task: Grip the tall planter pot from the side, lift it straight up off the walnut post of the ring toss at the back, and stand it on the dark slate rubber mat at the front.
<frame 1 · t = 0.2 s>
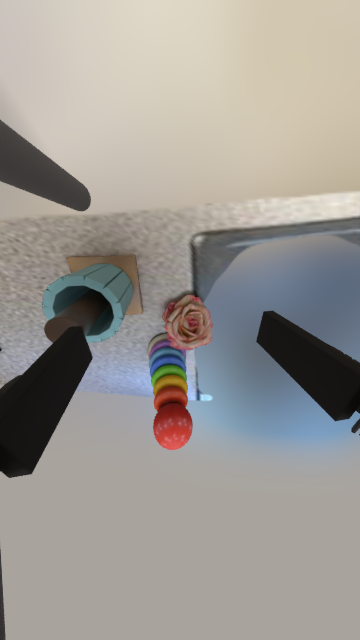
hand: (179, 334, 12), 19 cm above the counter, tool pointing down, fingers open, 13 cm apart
stacking toy: (166, 346, 35), on the counter
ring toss: (110, 286, 27), on the counter
flower: (184, 312, 32), on the counter
planter pot: (108, 288, 26), point 1 cm above the counter, touching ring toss
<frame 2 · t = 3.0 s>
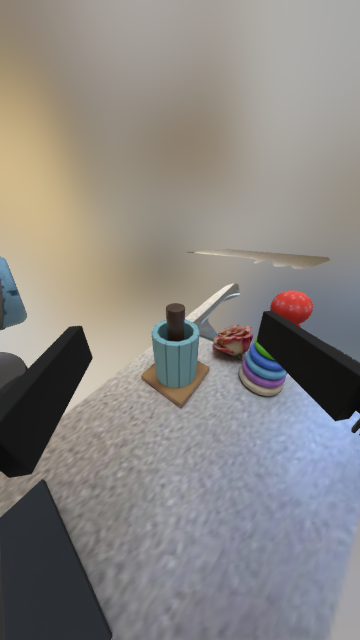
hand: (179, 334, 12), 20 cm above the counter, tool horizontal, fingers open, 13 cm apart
stacking toy: (258, 380, 32), on the counter
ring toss: (176, 374, 33), on the counter
flower: (228, 352, 39), on the counter
planter pot: (176, 370, 32), point 1 cm above the counter, touching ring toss
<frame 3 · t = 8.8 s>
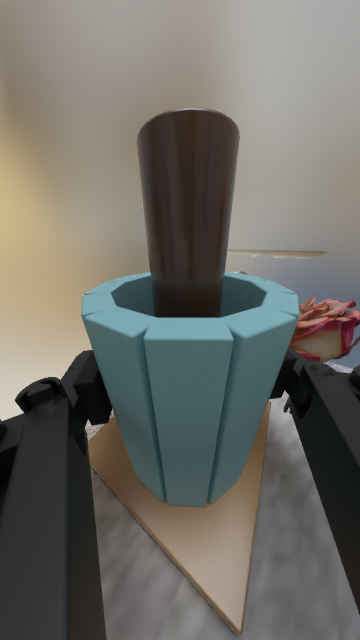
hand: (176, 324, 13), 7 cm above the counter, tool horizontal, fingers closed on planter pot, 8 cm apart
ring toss: (186, 432, 12), on the counter
flower: (284, 360, 19), on the counter
planter pot: (186, 422, 11), point 1 cm above the counter, touching gripper, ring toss
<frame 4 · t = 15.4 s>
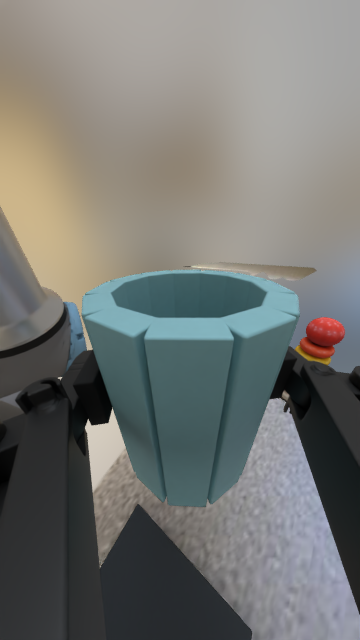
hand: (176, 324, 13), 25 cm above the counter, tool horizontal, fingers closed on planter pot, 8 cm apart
stacking toy: (292, 392, 36), on the counter
planter pot: (186, 422, 11), point 20 cm above the counter, touching gripper
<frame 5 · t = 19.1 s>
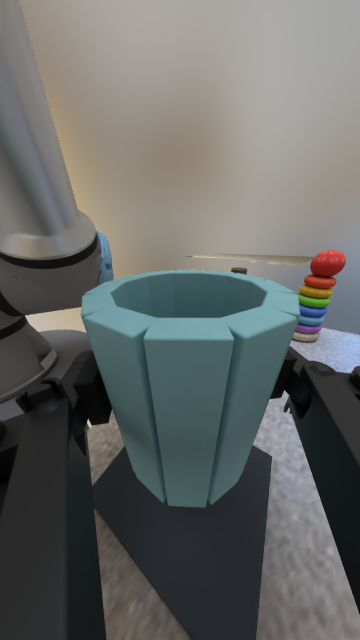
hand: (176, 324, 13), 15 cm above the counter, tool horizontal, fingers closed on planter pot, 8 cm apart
stacking toy: (296, 334, 39), on the counter
mat: (185, 477, 16), on the counter
planter pot: (186, 423, 11), point 9 cm above the counter, touching gripper
when the fingers open (6 cm above the counter, at t = 21.9 s): planter pot stays where it is, resting on mat.
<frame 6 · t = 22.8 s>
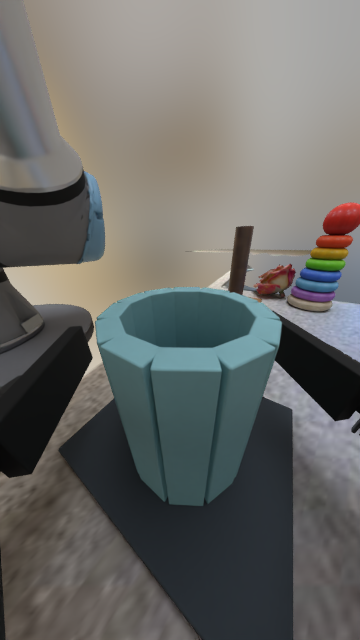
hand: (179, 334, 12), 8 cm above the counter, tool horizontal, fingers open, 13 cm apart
stacking toy: (306, 306, 36), on the counter
mat: (185, 433, 13), on the counter
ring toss: (233, 307, 36), on the counter
flower: (268, 295, 42), on the counter
planter pot: (186, 428, 12), point 1 cm above the counter, touching mat
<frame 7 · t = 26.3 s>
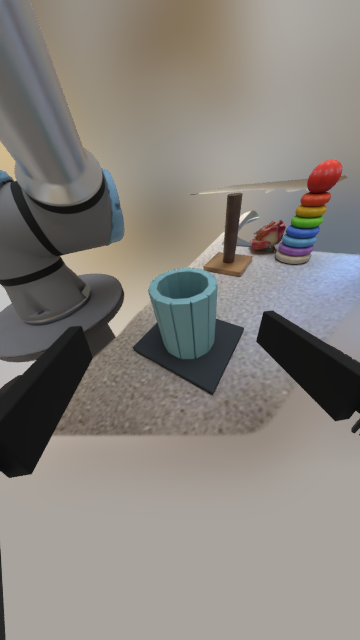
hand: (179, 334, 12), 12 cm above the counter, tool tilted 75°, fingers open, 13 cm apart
stacking toy: (290, 259, 43), on the counter
mat: (188, 340, 26), on the counter
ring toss: (228, 265, 44), on the counter
flower: (262, 250, 49), on the counter
planter pot: (188, 337, 26), point 1 cm above the counter, touching mat
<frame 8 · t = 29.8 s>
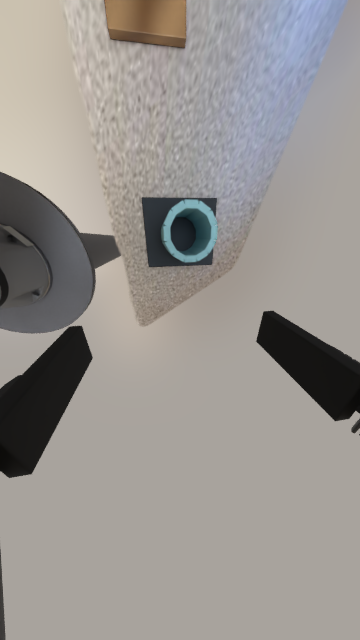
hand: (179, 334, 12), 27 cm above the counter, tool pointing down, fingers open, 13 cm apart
mat: (180, 234, 33), on the counter
planter pot: (181, 234, 32), point 1 cm above the counter, touching mat
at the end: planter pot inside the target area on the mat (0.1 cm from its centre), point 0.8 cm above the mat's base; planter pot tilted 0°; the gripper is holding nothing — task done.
